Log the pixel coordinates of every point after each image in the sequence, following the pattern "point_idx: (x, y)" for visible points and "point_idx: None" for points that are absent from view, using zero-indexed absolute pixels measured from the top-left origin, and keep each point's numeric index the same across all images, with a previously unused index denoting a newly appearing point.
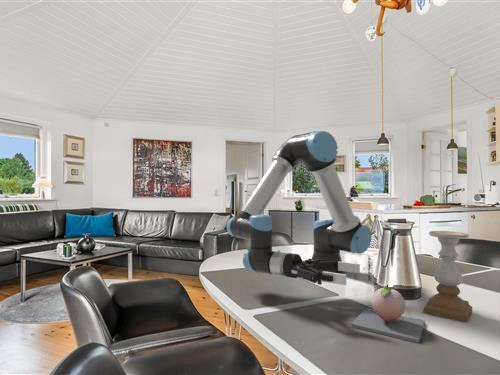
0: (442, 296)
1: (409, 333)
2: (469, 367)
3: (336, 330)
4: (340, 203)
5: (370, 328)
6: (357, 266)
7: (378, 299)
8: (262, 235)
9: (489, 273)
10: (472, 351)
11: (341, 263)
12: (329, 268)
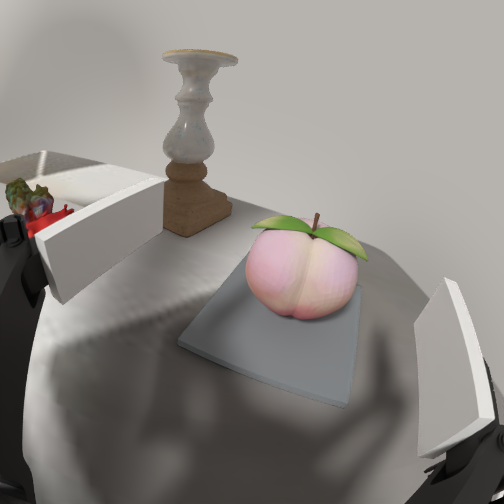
0: (193, 186)
1: None
2: (395, 266)
3: (387, 446)
4: None
5: (354, 357)
6: (158, 197)
7: (353, 275)
8: None
9: (52, 154)
10: None
11: (70, 236)
12: (25, 350)
